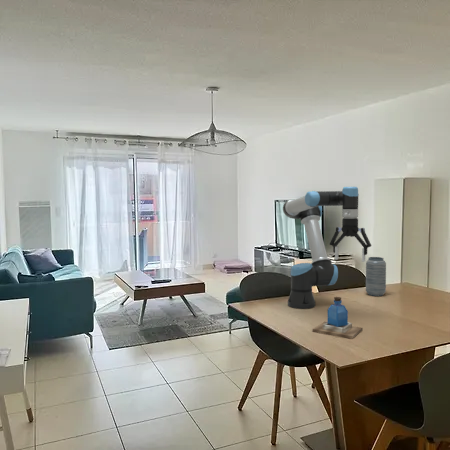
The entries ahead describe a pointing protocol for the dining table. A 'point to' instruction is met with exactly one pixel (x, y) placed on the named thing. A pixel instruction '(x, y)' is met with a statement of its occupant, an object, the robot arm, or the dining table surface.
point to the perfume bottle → (337, 313)
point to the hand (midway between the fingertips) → (349, 260)
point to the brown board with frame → (338, 330)
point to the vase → (375, 276)
